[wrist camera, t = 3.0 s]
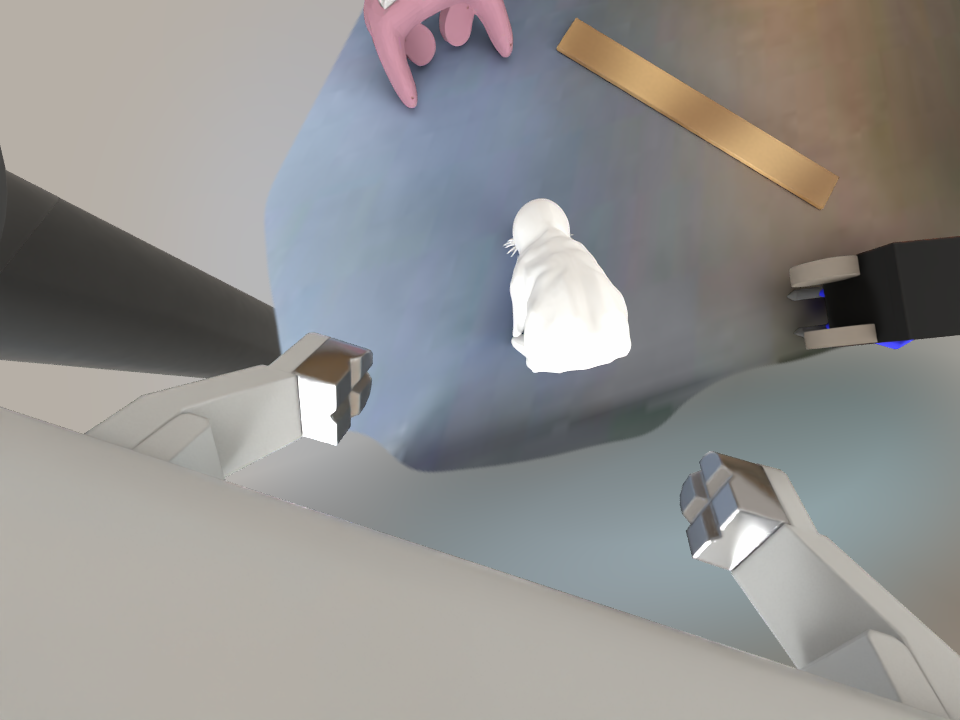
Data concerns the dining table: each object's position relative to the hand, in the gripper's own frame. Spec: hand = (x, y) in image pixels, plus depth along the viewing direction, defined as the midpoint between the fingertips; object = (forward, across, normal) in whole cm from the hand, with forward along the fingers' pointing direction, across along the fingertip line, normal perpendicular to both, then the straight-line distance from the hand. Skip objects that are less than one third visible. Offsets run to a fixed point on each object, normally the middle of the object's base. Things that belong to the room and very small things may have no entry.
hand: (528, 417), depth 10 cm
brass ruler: (+32, -8, -7) cm, 34 cm away
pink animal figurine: (+30, +12, -7) cm, 33 cm away
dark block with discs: (+26, -23, +3) cm, 35 cm away
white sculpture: (+20, 0, +6) cm, 21 cm away
